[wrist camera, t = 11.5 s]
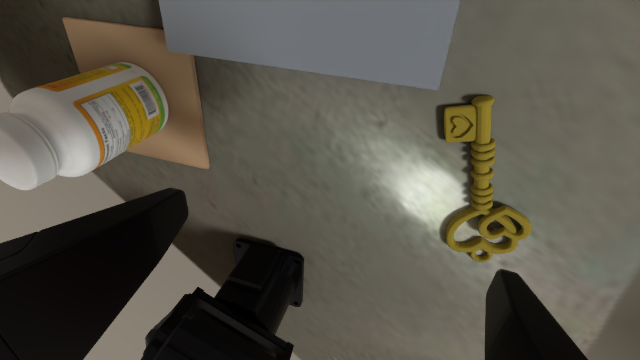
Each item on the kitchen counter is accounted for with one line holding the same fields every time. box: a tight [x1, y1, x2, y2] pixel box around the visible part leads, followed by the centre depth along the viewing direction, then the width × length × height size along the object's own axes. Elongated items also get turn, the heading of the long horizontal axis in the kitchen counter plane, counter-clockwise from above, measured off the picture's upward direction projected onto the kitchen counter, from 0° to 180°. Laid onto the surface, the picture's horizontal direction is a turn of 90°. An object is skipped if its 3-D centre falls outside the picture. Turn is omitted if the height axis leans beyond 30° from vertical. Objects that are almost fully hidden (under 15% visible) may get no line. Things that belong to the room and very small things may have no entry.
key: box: [444, 95, 531, 262], centre depth 21 cm, size 12×1×5 cm
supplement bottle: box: [0, 62, 168, 190], centre depth 21 cm, size 5×5×10 cm
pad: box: [62, 17, 210, 169], centre depth 26 cm, size 10×10×1 cm
